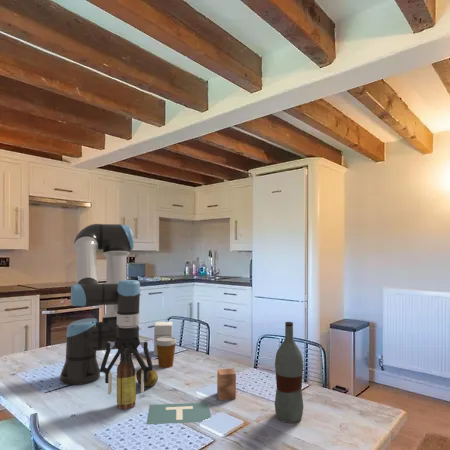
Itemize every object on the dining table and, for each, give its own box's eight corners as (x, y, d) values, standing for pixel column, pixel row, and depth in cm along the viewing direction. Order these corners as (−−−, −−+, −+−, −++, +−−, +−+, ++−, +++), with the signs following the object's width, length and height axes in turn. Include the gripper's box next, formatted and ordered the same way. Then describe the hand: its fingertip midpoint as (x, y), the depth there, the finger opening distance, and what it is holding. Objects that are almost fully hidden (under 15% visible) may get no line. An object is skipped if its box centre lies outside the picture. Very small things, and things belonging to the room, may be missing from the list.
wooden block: (218, 400, 133) (219, 374, 133) (217, 393, 139) (217, 369, 139) (235, 399, 134) (235, 374, 134) (233, 393, 139) (233, 368, 140)
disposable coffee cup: (174, 369, 165) (175, 341, 166) (153, 369, 165) (153, 341, 166) (177, 362, 175) (178, 336, 175) (157, 362, 175) (157, 336, 176)
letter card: (146, 424, 114) (146, 424, 114) (149, 405, 128) (149, 404, 128) (211, 421, 116) (211, 421, 117) (208, 403, 130) (208, 402, 130)
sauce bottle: (139, 404, 129) (140, 345, 130) (128, 411, 123) (130, 350, 124) (122, 401, 131) (124, 343, 132) (112, 408, 125) (113, 348, 126)
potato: (166, 382, 150) (166, 361, 150) (146, 393, 138) (147, 371, 139) (149, 378, 153) (149, 358, 154) (128, 389, 142) (129, 368, 142)
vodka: (308, 421, 117) (308, 324, 119) (282, 425, 115) (282, 326, 116) (295, 409, 126) (295, 319, 128) (269, 412, 124) (270, 320, 125)
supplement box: (154, 350, 194) (155, 321, 194) (172, 350, 195) (172, 321, 195) (153, 356, 185) (153, 325, 185) (171, 355, 186) (172, 325, 186)
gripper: (91, 328, 123) (89, 397, 122) (160, 327, 126) (159, 395, 125) (96, 323, 131) (94, 388, 130) (161, 322, 133) (160, 386, 132)
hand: (126, 392), depth 127 cm, fingers open, 10 cm apart
